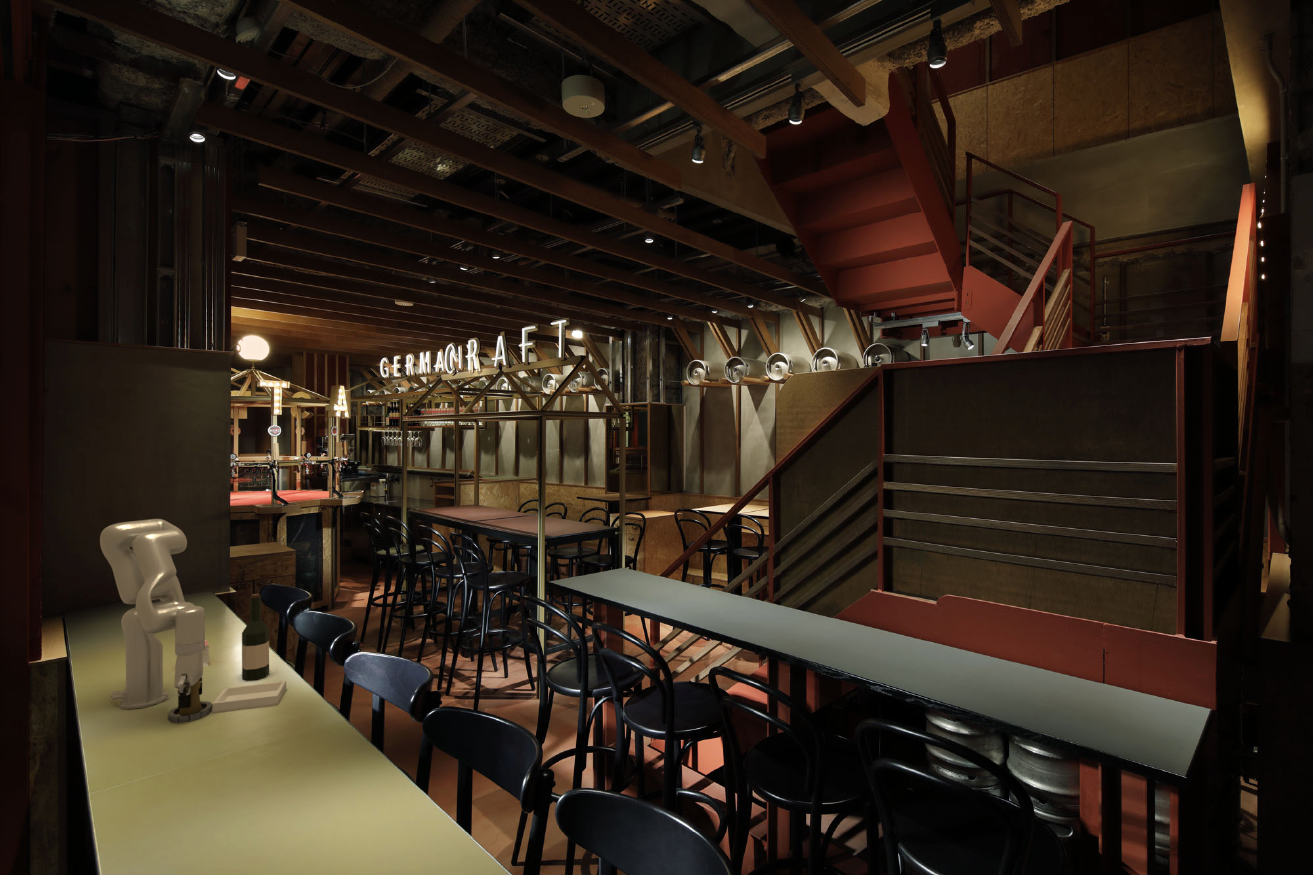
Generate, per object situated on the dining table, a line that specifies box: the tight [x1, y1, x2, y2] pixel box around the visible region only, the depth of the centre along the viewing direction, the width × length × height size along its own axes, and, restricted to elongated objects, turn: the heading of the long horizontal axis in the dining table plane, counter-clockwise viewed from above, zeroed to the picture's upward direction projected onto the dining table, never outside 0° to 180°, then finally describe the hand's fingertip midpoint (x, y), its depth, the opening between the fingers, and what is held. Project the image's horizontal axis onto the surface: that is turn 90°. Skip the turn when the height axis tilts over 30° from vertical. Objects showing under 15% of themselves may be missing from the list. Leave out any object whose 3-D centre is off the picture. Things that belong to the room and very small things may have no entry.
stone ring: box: [167, 700, 213, 724], centre depth 198 cm, size 11×11×2 cm
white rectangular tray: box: [211, 680, 287, 714], centre depth 208 cm, size 18×13×3 cm
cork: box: [178, 680, 203, 715], centre depth 198 cm, size 6×6×11 cm
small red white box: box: [202, 639, 210, 668], centre depth 240 cm, size 8×8×8 cm
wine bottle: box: [241, 593, 270, 682], centre depth 229 cm, size 8×8×30 cm
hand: (190, 701), depth 198 cm, fingers open, 9 cm apart
